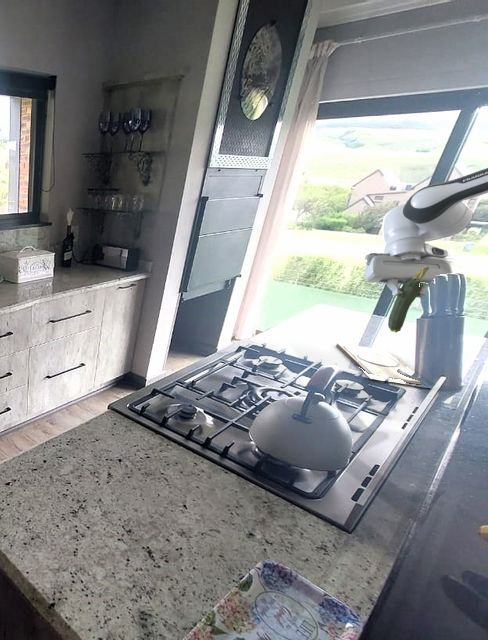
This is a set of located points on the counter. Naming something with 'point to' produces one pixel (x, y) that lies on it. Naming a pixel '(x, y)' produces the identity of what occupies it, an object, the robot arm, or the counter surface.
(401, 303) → the vegetable
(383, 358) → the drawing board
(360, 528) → the counter surface
